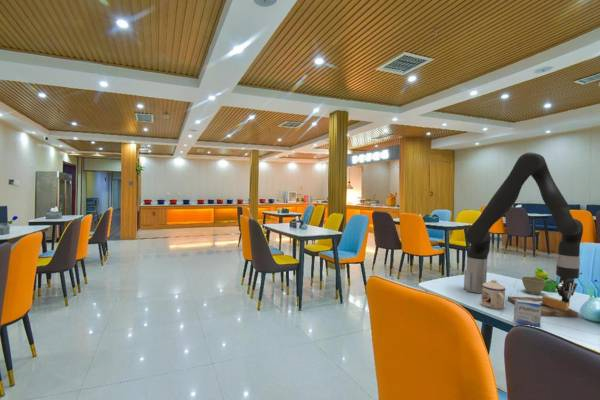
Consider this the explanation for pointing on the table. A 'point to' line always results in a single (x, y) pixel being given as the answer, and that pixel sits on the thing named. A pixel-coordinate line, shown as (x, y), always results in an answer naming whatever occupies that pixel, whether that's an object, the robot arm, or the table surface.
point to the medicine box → (527, 312)
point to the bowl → (533, 284)
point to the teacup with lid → (493, 295)
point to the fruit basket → (550, 283)
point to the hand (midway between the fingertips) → (565, 305)
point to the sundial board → (548, 308)
